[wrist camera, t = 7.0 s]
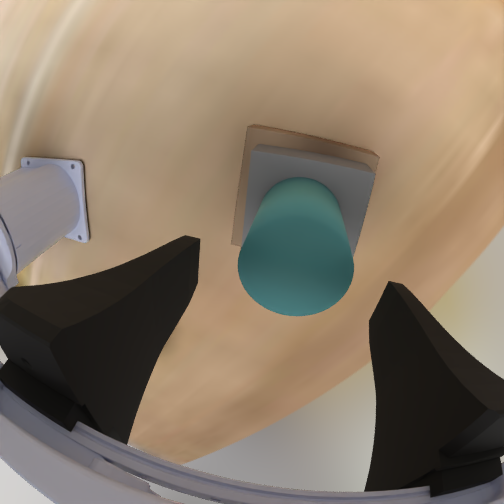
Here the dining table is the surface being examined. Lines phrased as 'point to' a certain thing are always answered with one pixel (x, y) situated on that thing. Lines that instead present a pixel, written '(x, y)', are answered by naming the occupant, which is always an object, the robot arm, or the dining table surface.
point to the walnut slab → (291, 141)
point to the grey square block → (314, 167)
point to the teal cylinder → (297, 250)
